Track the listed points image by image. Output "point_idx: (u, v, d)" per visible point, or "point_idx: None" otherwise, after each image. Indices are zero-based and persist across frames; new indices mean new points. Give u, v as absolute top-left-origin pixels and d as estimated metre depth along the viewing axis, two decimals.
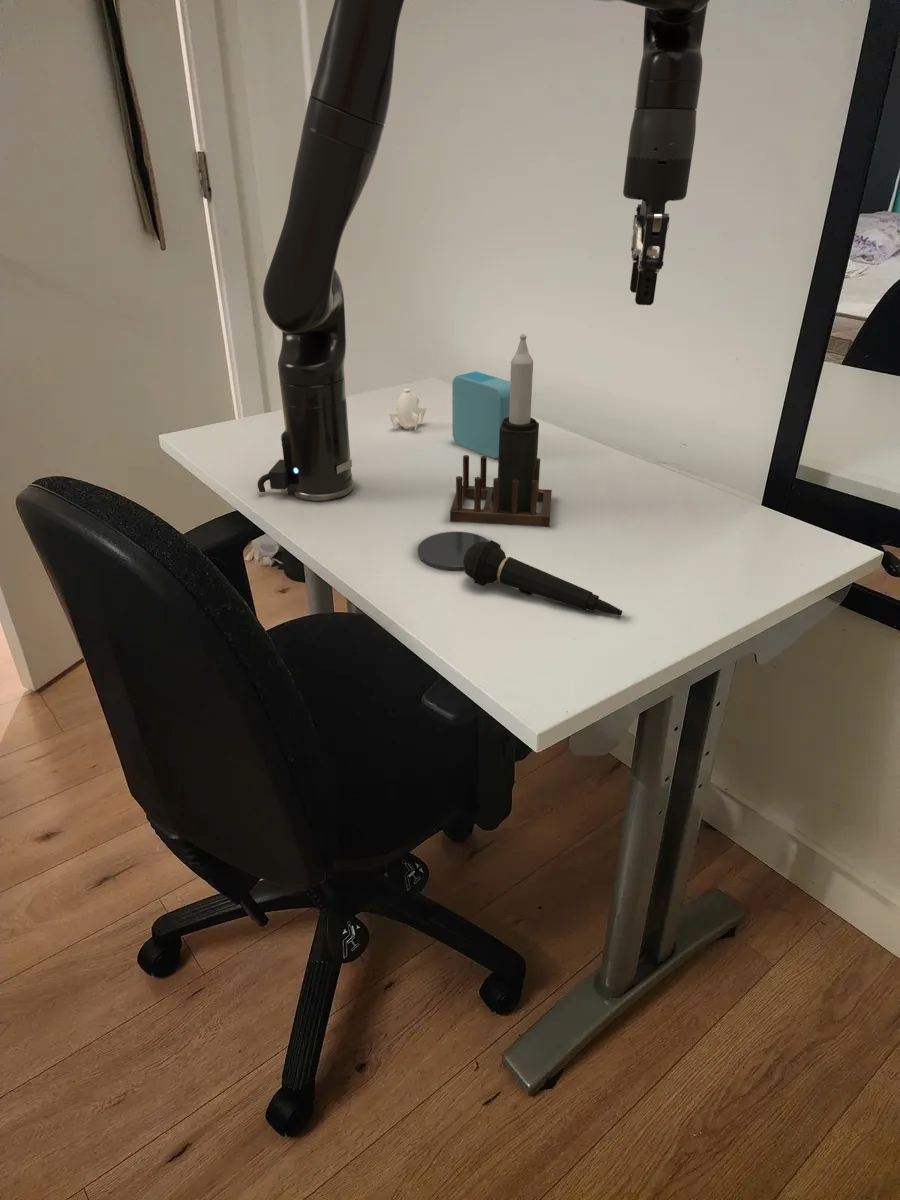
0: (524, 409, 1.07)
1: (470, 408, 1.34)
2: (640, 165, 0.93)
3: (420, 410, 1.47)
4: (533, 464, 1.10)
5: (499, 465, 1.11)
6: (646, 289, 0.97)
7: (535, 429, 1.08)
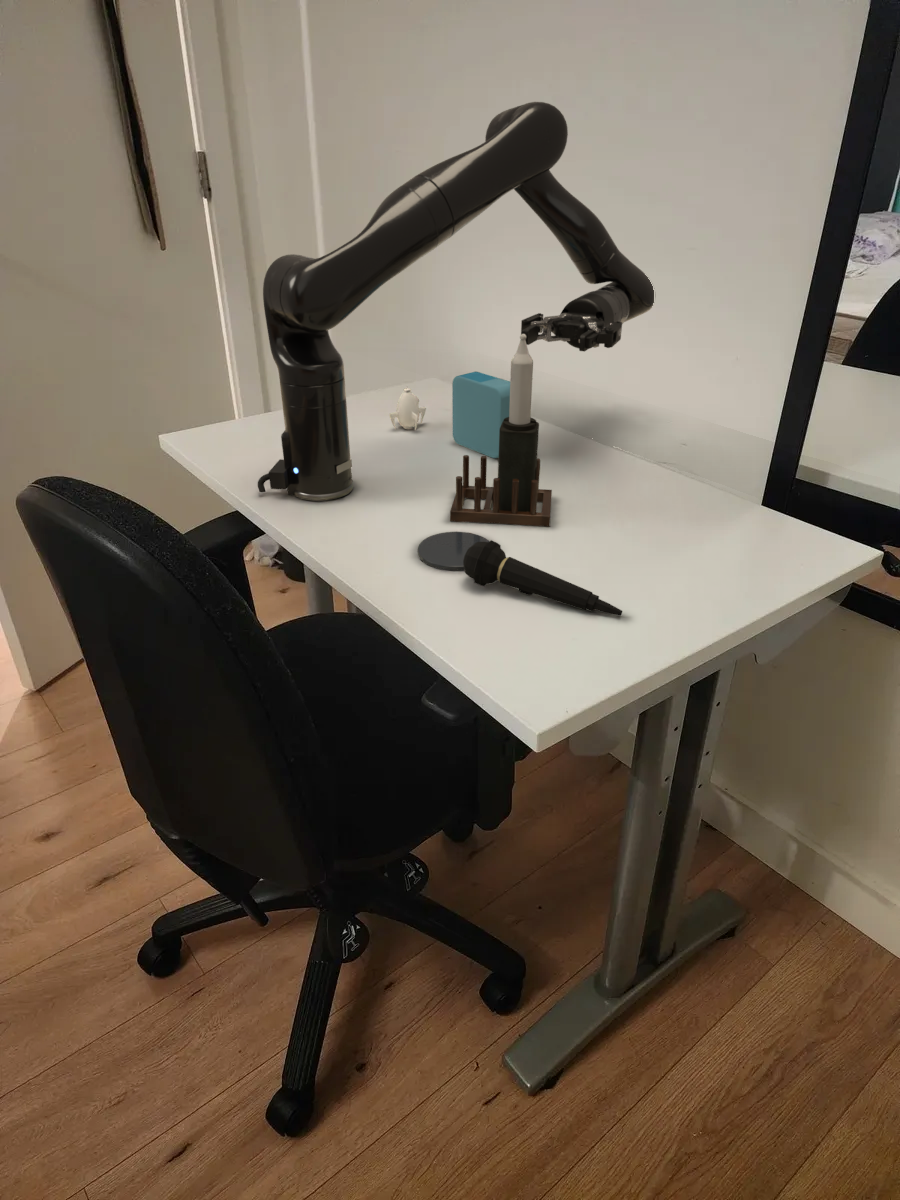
0: (524, 409, 1.07)
1: (470, 408, 1.34)
2: (608, 305, 1.22)
3: (420, 410, 1.47)
4: (533, 464, 1.10)
5: (499, 465, 1.11)
6: (593, 341, 1.13)
7: (535, 429, 1.08)
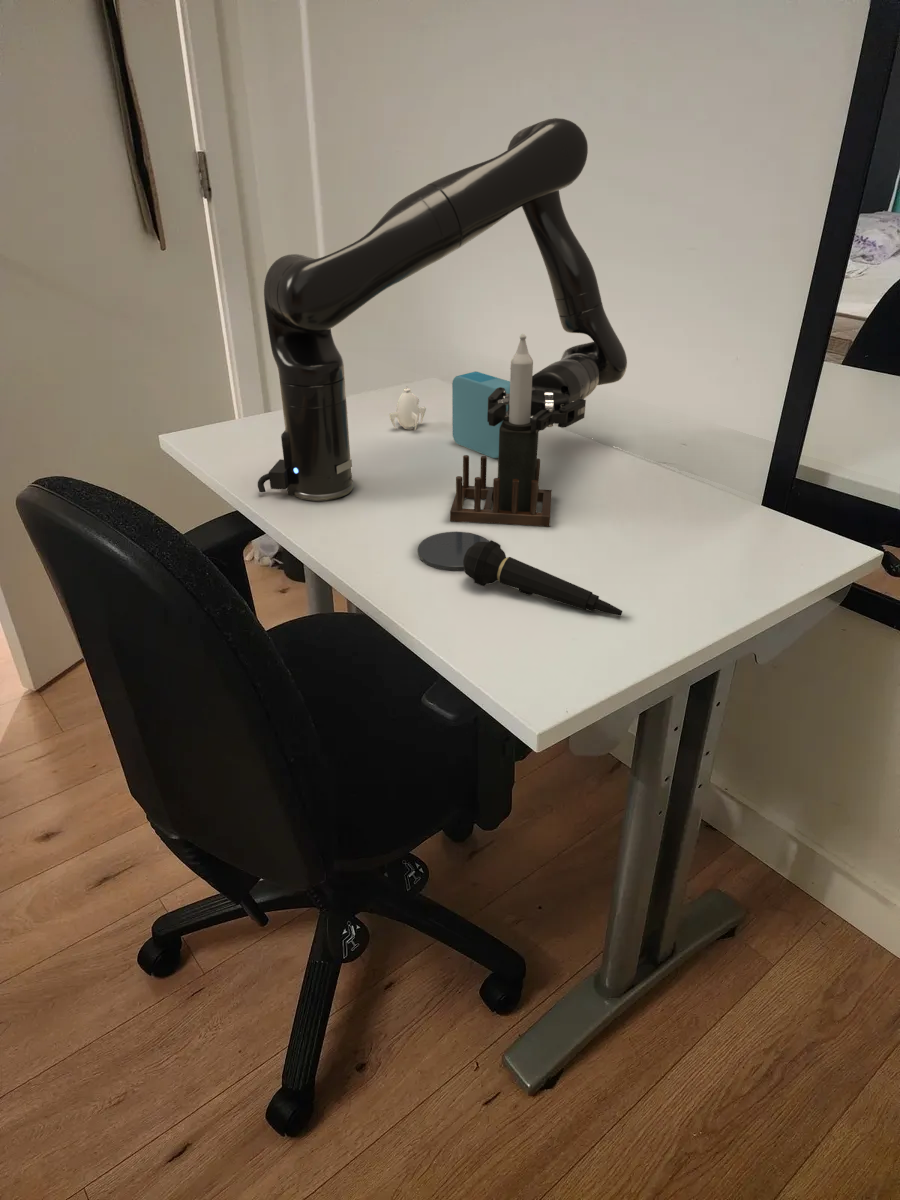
0: (524, 409, 1.07)
1: (470, 408, 1.34)
2: (574, 378, 1.17)
3: (420, 410, 1.47)
4: (533, 464, 1.10)
5: (499, 465, 1.11)
6: (546, 422, 1.07)
7: None
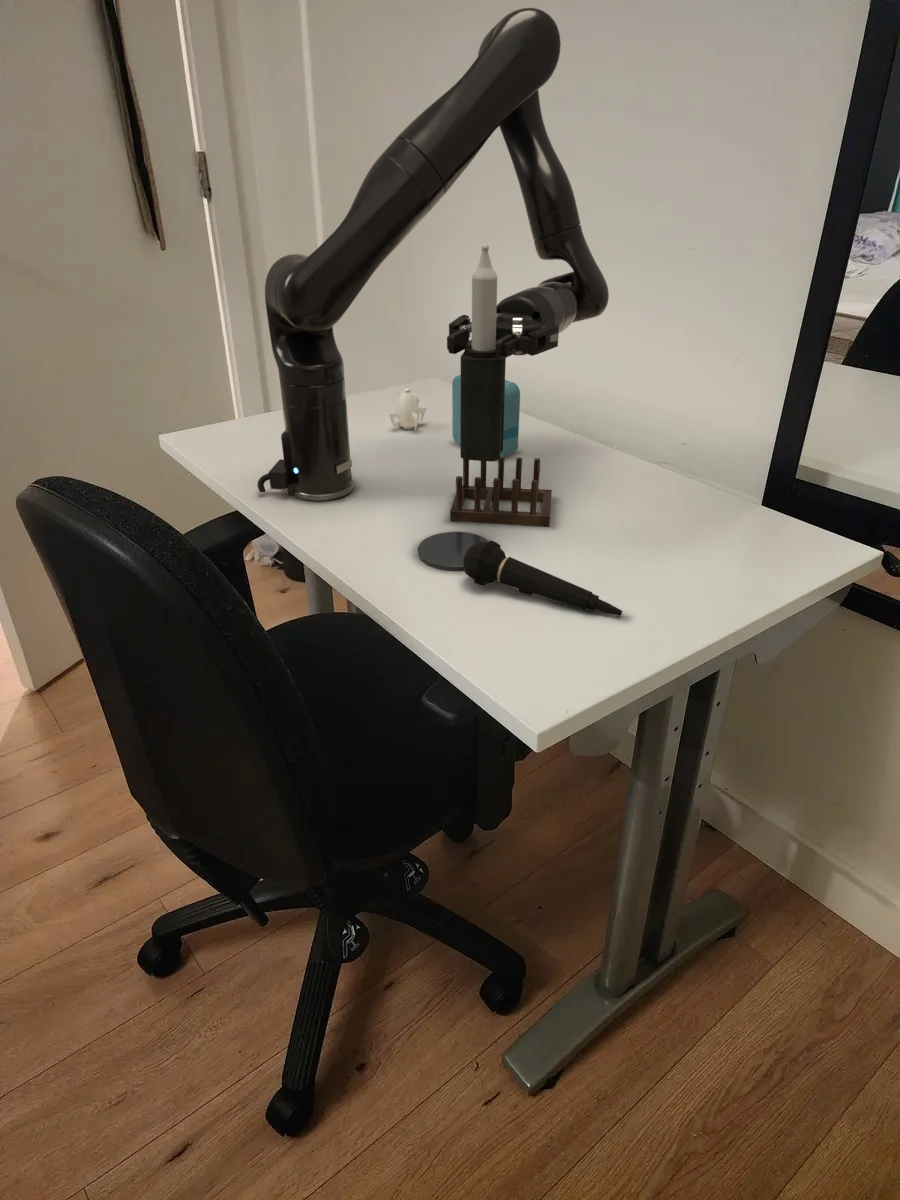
0: (487, 333, 0.94)
1: None
2: (547, 304, 1.04)
3: (420, 410, 1.47)
4: (499, 397, 0.97)
5: (461, 399, 0.98)
6: (513, 348, 0.94)
7: None
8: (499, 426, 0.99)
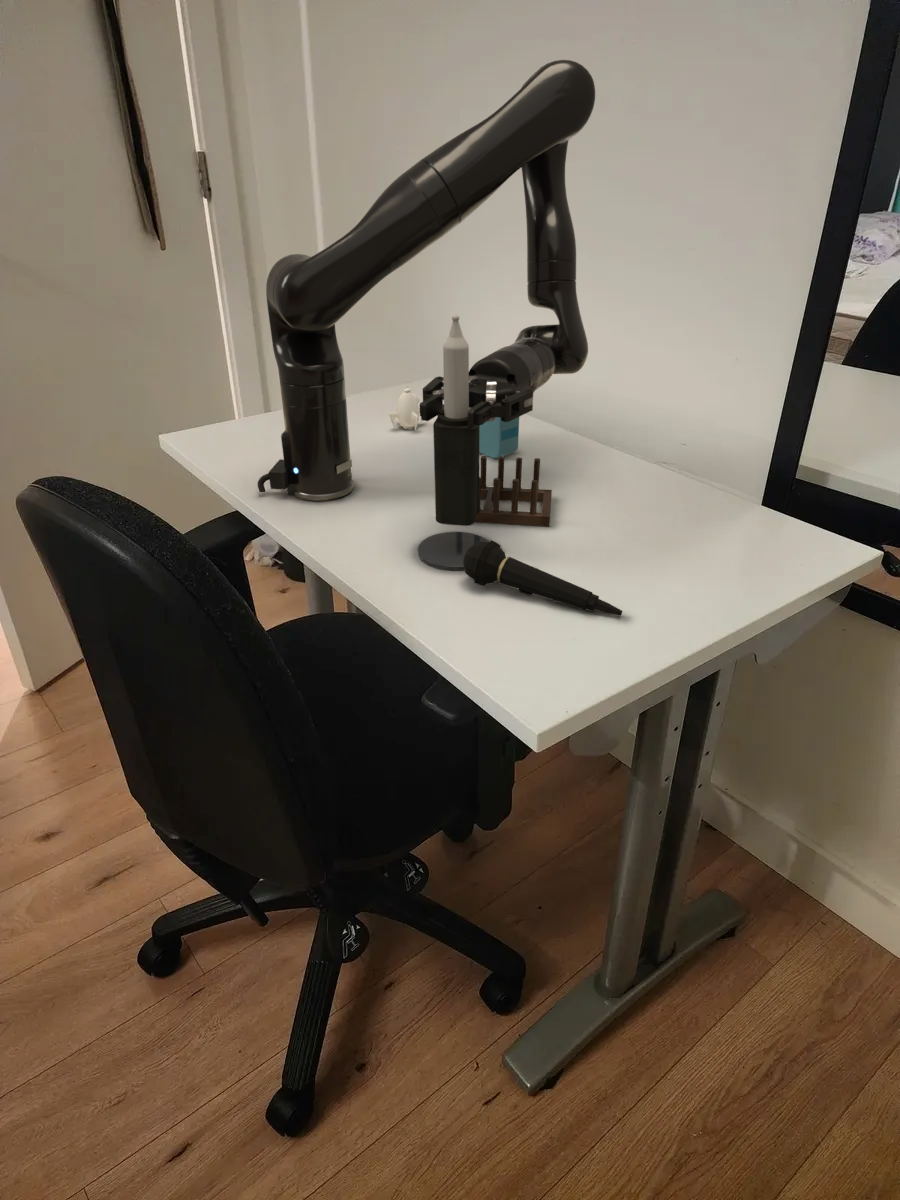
0: (460, 401, 0.93)
1: None
2: (523, 365, 1.03)
3: None
4: (473, 464, 0.96)
5: (435, 465, 0.97)
6: (485, 416, 0.93)
7: None
8: (474, 491, 0.98)
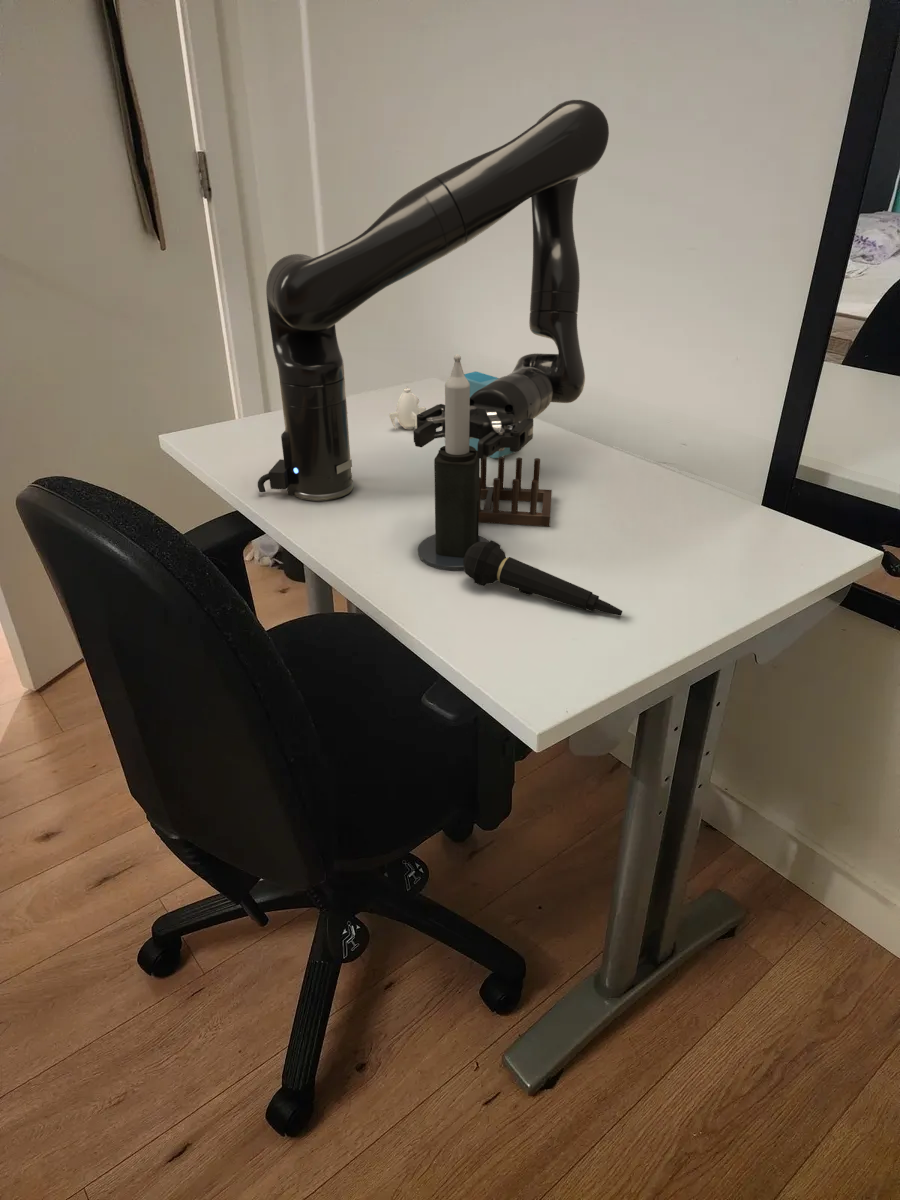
0: (460, 438, 0.96)
1: None
2: (521, 395, 1.05)
3: (420, 410, 1.47)
4: (472, 498, 0.99)
5: (435, 499, 1.00)
6: (495, 446, 0.95)
7: (474, 460, 0.97)
8: (473, 525, 1.01)
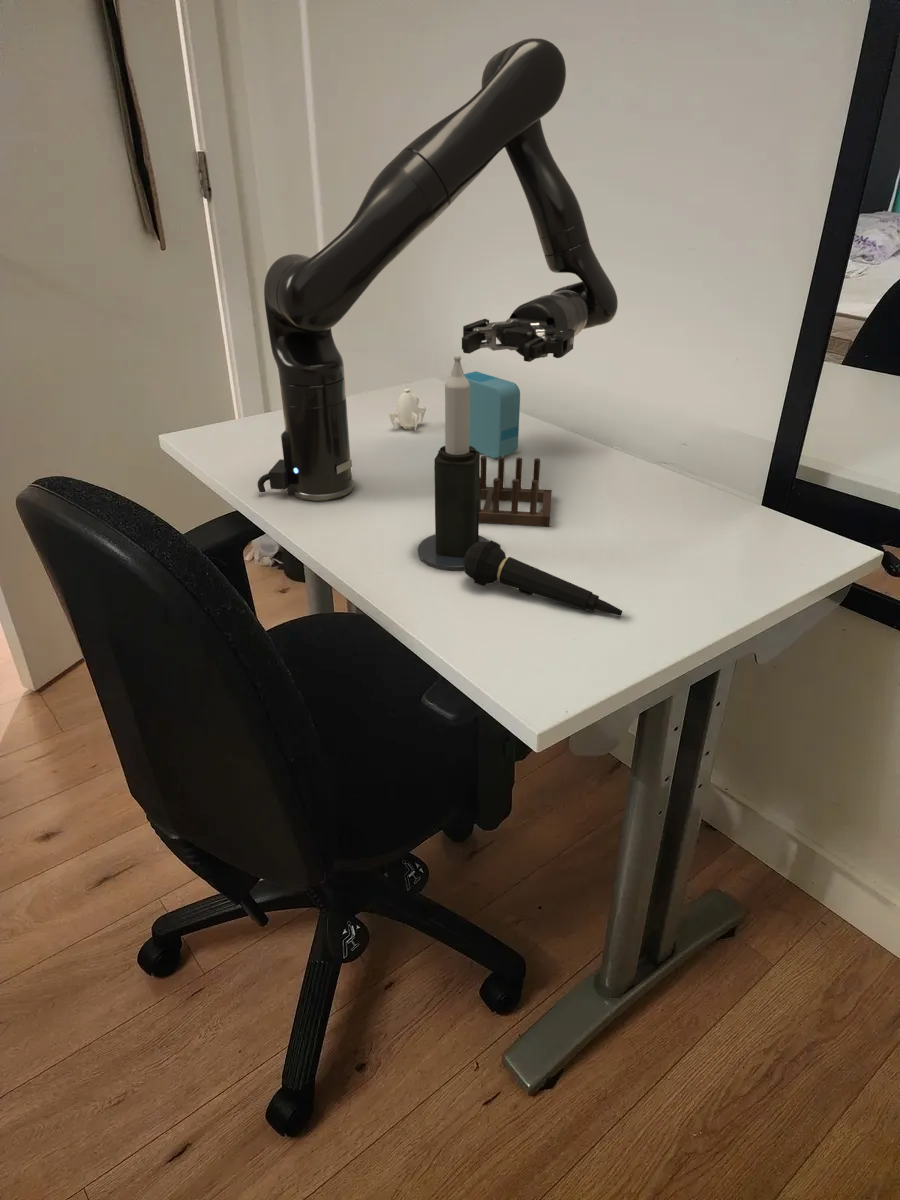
0: (460, 438, 0.96)
1: (470, 408, 1.34)
2: (561, 311, 1.10)
3: (420, 410, 1.47)
4: (472, 498, 0.99)
5: (435, 499, 1.00)
6: (540, 350, 1.00)
7: (474, 460, 0.97)
8: (473, 525, 1.01)
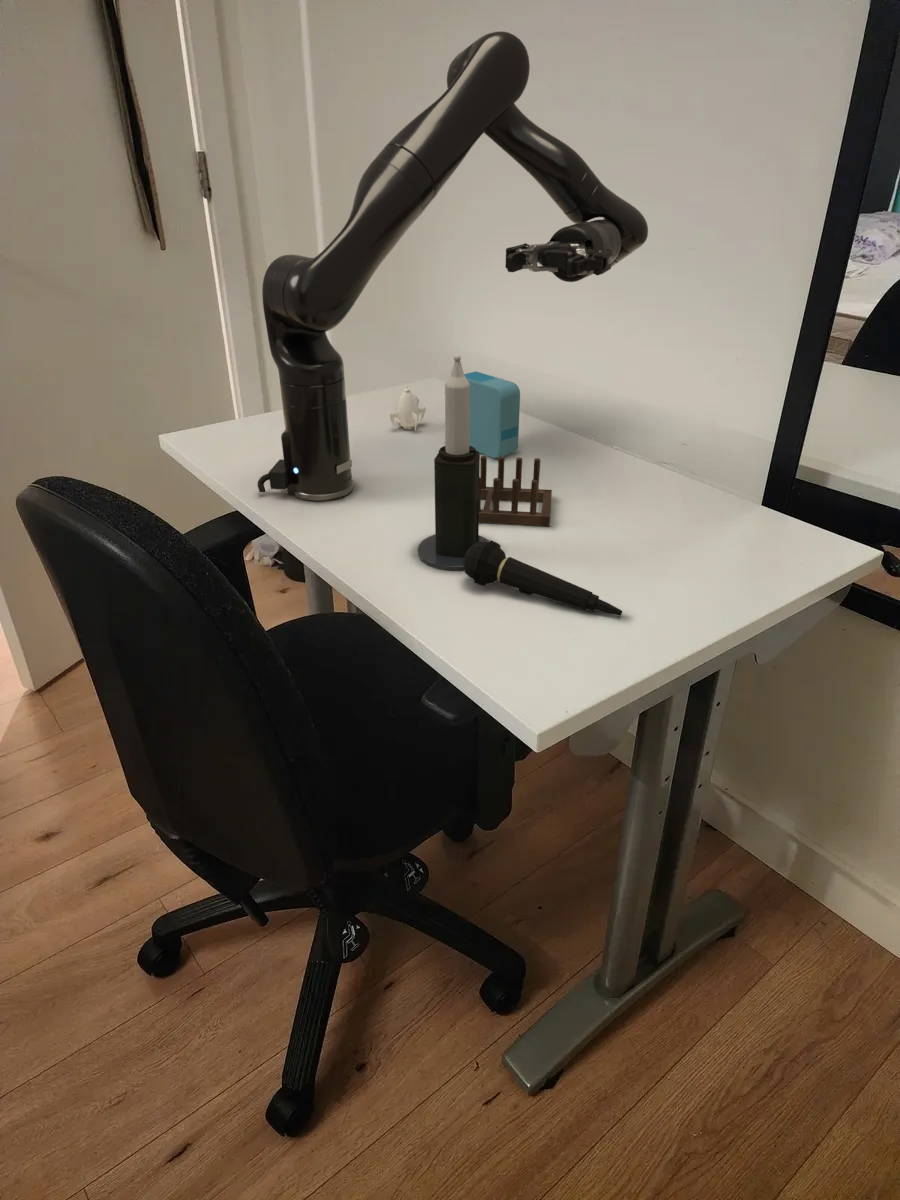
0: (460, 438, 0.96)
1: (470, 408, 1.34)
2: (598, 235, 1.16)
3: (420, 410, 1.47)
4: (472, 498, 0.99)
5: (435, 499, 1.00)
6: (581, 266, 1.06)
7: (474, 460, 0.97)
8: (473, 525, 1.01)
